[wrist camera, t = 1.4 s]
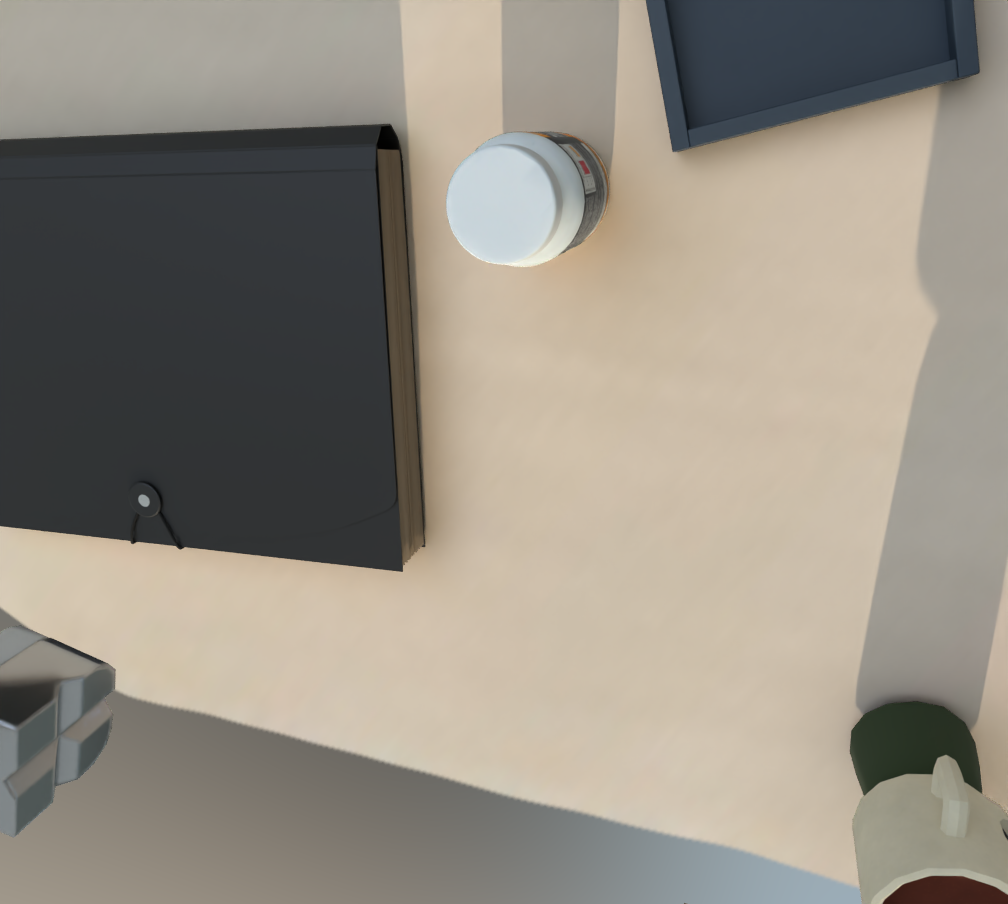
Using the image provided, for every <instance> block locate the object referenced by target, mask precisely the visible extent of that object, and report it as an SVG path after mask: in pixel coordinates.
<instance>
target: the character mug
mask: <svg viewBox="0 0 1008 904" xmlns="http://www.w3.org/2000/svg"><path fill="white" fill-rule="evenodd" d="M850 754H851V757H852V761H853V765H854V768H855V772H856V775H857V778H858V781H859V783H860V786H861V789H862V791H863V794H864V797H862V798H861V800H860V802H859V805H858V807H857V810H856V813H855V815H854V818H853V836H854V844H855V852H856V860H857V868H858V876H859V884H860V892H861V900H862V904H1008V816H1007V814H1006V813H1005V811H1004V810H1003V809H1002V807H1001V806H1000V805H999V804H997V803H996V802H994V801H992V800H991V799H989V798H987V797H986V796H984V795H983V794H982V785H981V775H980V766H979V761H978V756H977V750H976V745H975V742H974V740H973V738H972V736H971V734H970V732H969V730H968V728H967V726H966V724H965V723H964V722H963V721H962V720H961V719H959V718H958V717H957V716H955V715H954V714H953V713H951V712H950V711H949V710H947V709H946V708H945V707H943V706H937V705H932V704H927V703H922V702H904V703H891V704H886V705H884V706H882V707H880V708H877V709H875V710H873V711H870V712H868V713H866V714H865V715H864V716H863V717H862V718H861V719H860V721H859V722H858V723H857V724H856V726H855V727H854V728H853V729H852V731H851V744H850Z"/></svg>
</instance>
